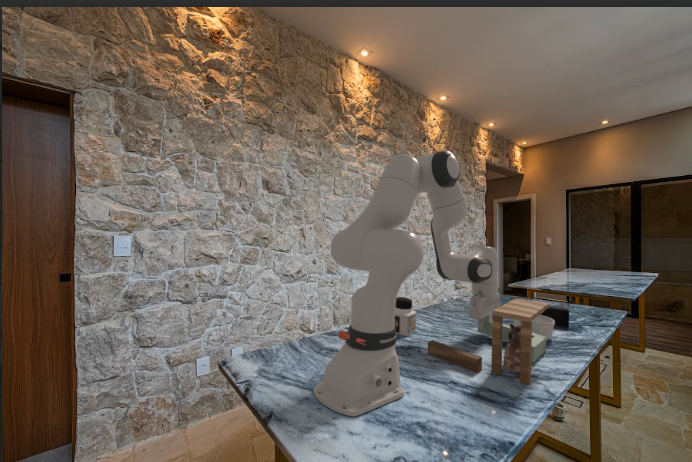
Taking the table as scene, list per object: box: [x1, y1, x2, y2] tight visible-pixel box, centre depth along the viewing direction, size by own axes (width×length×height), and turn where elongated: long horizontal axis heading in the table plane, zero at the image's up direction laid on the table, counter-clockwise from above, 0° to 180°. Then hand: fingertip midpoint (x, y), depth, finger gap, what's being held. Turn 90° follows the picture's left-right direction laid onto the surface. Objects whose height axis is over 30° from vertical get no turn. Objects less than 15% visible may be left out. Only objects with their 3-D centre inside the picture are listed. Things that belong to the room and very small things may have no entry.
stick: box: [427, 340, 483, 374], centre depth 88 cm, size 3×16×4 cm, turn 40°
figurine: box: [502, 323, 533, 374], centre depth 85 cm, size 7×7×12 cm
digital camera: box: [540, 306, 570, 328], centre depth 128 cm, size 10×5×7 cm, turn 58°
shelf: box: [490, 297, 550, 386], centre depth 86 cm, size 22×9×17 cm, turn 135°
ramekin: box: [513, 315, 555, 342], centre depth 112 cm, size 13×13×7 cm
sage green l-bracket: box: [477, 319, 548, 364], centre depth 100 cm, size 13×21×5 cm, turn 42°
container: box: [394, 296, 417, 337], centre depth 114 cm, size 8×8×13 cm
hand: (483, 326), depth 110 cm, fingers closed on sage green l-bracket, 3 cm apart
